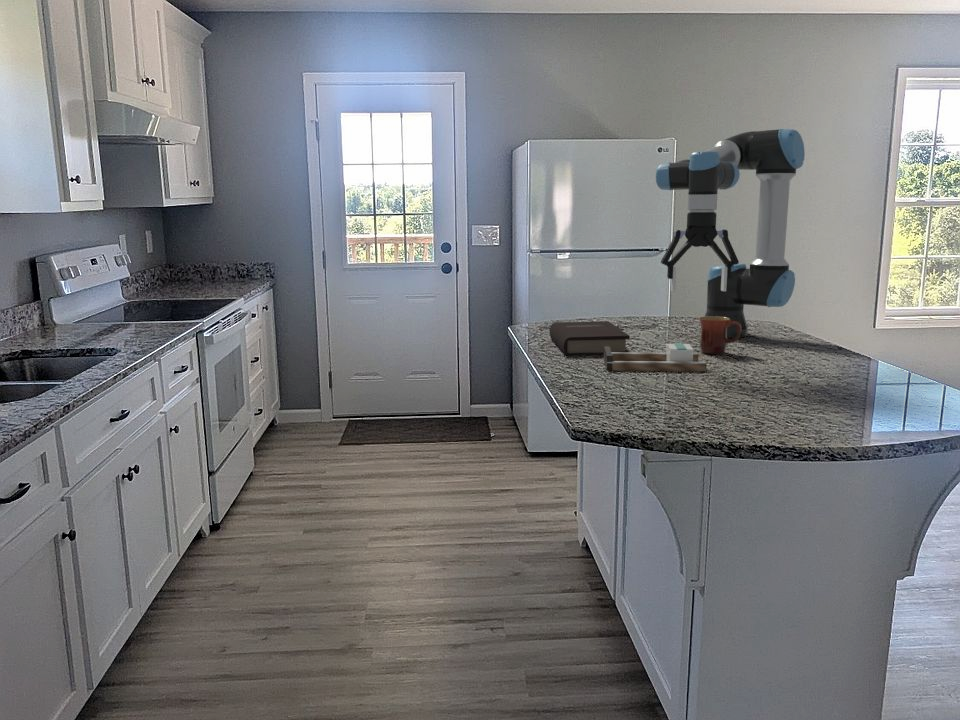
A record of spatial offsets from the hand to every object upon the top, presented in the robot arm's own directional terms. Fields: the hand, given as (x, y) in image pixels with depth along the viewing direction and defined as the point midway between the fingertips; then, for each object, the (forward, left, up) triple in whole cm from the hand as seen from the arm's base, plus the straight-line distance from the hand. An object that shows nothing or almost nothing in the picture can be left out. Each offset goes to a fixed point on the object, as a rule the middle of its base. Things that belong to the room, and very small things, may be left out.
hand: (698, 291), depth 214 cm
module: (+5, +4, -20) cm, 21 cm away
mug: (-9, -14, -20) cm, 26 cm away
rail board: (+12, +4, -20) cm, 24 cm away
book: (+29, -25, -21) cm, 43 cm away
